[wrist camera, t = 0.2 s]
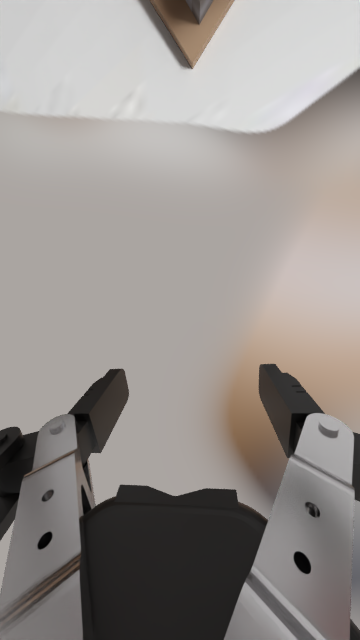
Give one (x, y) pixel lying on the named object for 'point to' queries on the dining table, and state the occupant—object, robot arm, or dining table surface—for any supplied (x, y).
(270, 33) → the dining table surface
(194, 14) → the holder board
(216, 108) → the dining table surface
